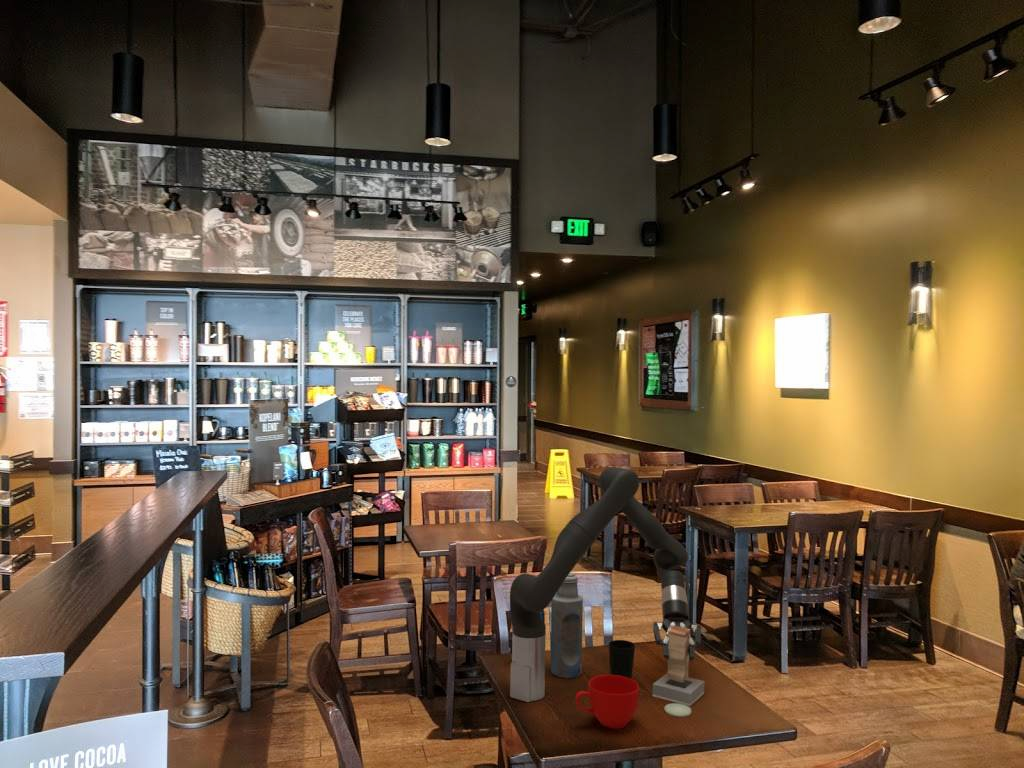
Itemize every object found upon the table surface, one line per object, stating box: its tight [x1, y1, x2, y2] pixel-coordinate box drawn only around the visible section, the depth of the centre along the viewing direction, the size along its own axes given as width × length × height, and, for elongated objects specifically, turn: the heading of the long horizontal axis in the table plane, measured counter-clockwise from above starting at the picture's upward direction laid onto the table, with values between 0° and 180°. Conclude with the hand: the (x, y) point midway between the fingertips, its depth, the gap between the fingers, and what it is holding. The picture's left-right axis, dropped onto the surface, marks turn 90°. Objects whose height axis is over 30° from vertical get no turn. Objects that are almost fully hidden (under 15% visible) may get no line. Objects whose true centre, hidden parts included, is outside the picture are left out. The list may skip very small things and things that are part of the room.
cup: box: [608, 639, 636, 680], centre depth 216 cm, size 8×8×12 cm
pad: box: [664, 702, 692, 718], centre depth 199 cm, size 7×7×1 cm
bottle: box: [549, 571, 584, 679], centre depth 226 cm, size 10×10×30 cm
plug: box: [666, 626, 691, 682], centre depth 211 cm, size 5×5×14 cm
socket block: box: [652, 672, 705, 707], centre depth 210 cm, size 11×11×3 cm
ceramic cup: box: [575, 674, 640, 730], centre depth 191 cm, size 13×17×10 cm
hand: (679, 658), depth 209 cm, fingers closed on plug, 6 cm apart
